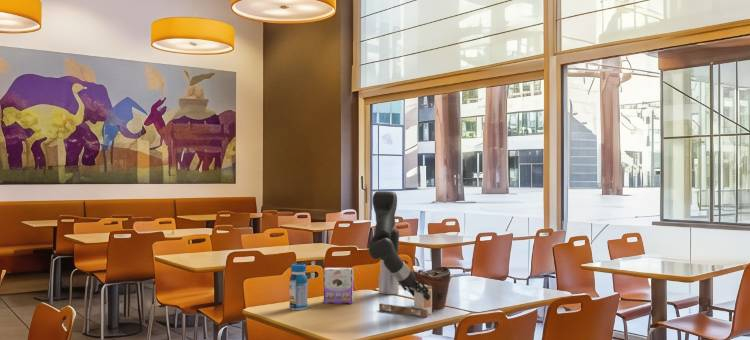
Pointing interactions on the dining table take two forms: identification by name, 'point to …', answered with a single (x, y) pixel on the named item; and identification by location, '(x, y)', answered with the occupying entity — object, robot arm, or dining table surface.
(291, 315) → the dining table surface
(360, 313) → the dining table surface
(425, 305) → the sugar carton
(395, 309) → the rail
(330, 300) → the candy box
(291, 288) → the beverage bottle
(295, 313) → the dining table surface
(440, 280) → the brown round rimmed container
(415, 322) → the dining table surface
